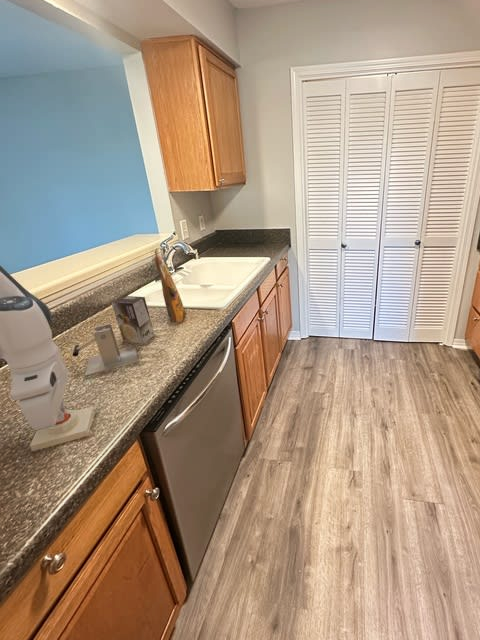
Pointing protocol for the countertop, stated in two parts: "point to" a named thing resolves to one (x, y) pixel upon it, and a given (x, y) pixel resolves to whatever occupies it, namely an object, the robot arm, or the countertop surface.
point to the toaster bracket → (109, 352)
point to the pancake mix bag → (169, 291)
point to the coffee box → (133, 319)
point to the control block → (65, 429)
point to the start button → (64, 419)
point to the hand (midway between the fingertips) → (61, 417)
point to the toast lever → (84, 345)
